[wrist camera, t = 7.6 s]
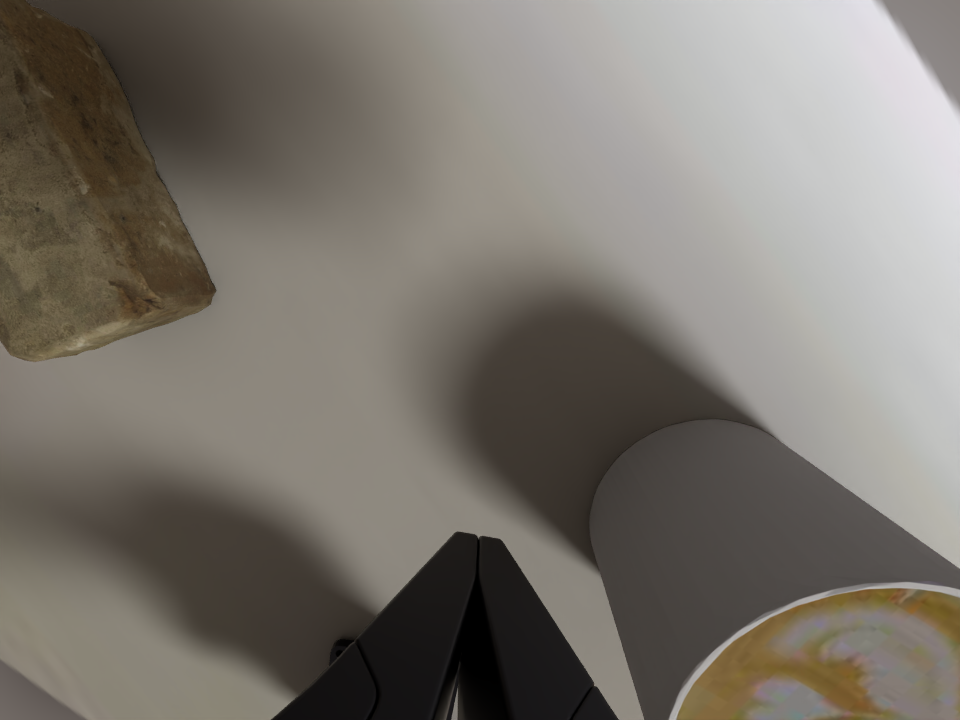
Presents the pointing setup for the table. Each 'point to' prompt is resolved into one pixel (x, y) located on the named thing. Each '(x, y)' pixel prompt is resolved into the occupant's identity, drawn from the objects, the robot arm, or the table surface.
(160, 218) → the stone block
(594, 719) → the robot arm
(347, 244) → the table surface
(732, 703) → the coffee mug
